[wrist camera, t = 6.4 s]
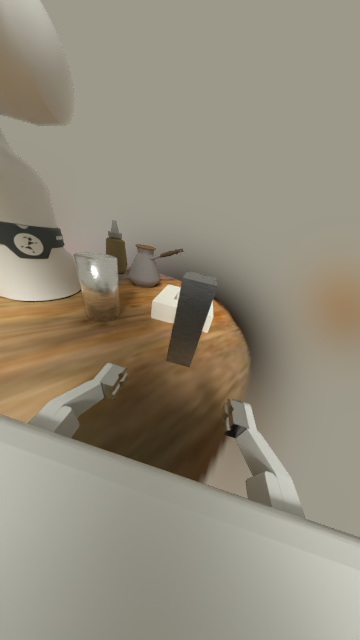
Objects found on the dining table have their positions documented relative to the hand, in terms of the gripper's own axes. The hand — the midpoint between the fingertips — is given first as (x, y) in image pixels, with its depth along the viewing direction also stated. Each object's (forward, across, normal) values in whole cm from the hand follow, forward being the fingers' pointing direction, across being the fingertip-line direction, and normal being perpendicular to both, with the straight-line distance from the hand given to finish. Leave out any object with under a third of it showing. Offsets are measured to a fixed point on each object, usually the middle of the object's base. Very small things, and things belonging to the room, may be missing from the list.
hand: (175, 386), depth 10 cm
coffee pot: (+39, -16, -8) cm, 43 cm away
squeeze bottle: (+48, -36, -8) cm, 60 cm away
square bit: (+11, 0, -8) cm, 14 cm away
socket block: (+27, -2, -8) cm, 28 cm away
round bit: (+17, -19, -8) cm, 27 cm away
